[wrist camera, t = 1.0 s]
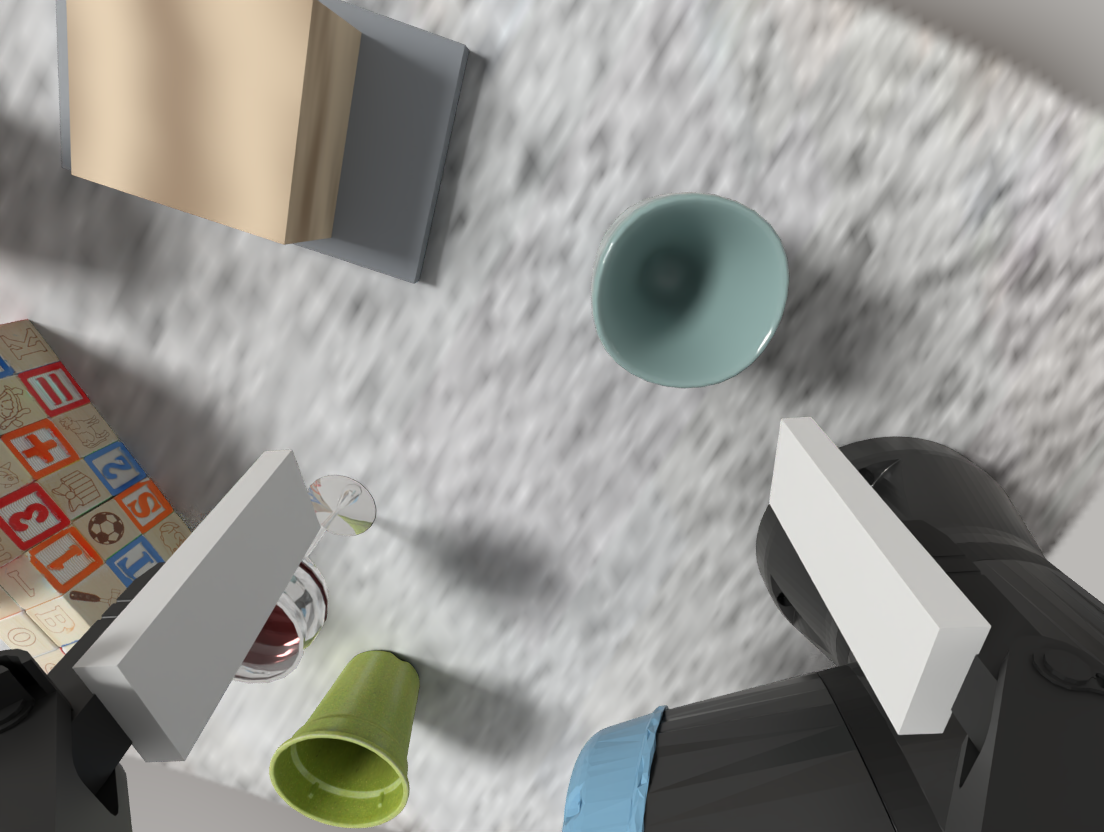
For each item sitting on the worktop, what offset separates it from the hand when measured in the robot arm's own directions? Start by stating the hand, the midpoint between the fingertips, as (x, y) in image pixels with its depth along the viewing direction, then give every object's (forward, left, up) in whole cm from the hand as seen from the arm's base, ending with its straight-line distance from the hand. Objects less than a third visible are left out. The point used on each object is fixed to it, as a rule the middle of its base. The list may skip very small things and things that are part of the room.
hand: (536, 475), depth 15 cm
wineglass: (+11, +17, -19) cm, 28 cm away
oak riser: (+19, -6, -18) cm, 27 cm away
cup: (-4, -5, -19) cm, 20 cm away
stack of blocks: (+28, +20, -19) cm, 39 cm away
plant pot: (+5, +32, -19) cm, 38 cm away
